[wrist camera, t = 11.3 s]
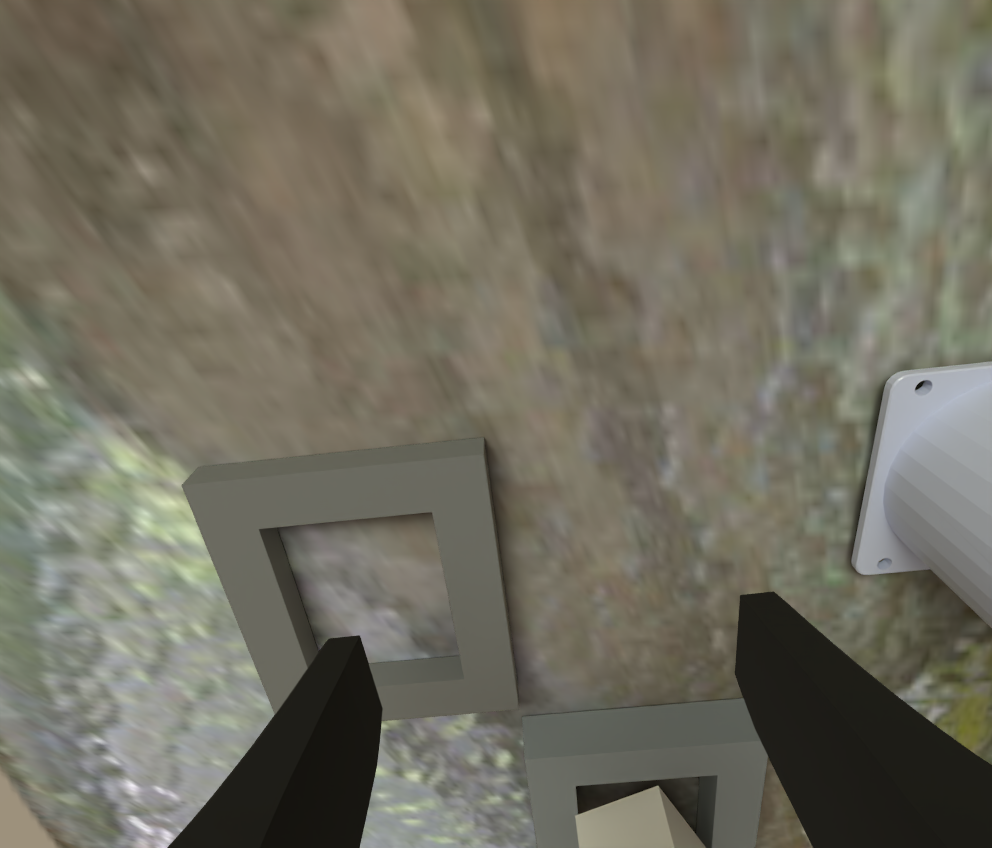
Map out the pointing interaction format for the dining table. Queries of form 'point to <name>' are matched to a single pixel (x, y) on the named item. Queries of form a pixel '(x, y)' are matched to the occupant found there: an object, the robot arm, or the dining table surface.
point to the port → (648, 764)
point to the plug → (636, 824)
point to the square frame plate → (349, 496)
